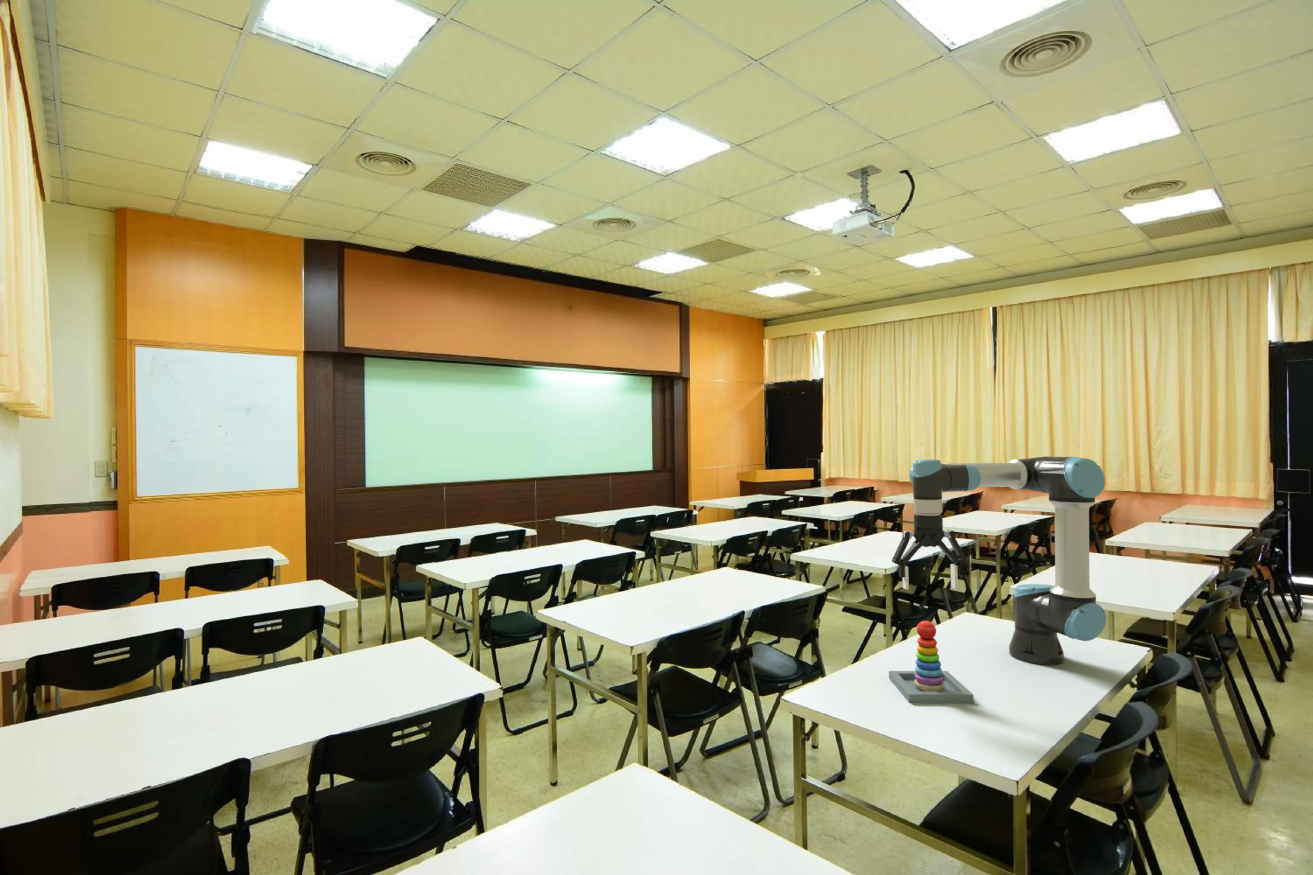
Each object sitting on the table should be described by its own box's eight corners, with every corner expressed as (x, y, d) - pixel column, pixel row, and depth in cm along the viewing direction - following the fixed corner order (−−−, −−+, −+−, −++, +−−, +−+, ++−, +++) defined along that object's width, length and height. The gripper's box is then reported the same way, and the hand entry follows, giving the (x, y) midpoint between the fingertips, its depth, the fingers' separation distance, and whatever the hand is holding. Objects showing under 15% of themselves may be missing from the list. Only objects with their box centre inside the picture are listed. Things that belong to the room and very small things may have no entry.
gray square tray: (947, 678, 183) (947, 670, 183) (973, 702, 166) (973, 694, 166) (888, 678, 184) (888, 670, 184) (909, 702, 167) (908, 694, 167)
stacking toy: (938, 682, 179) (937, 617, 179) (949, 693, 171) (947, 625, 171) (910, 681, 180) (909, 617, 180) (919, 693, 172) (917, 625, 172)
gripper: (966, 511, 179) (968, 584, 179) (879, 513, 181) (881, 585, 181) (979, 514, 172) (981, 590, 172) (887, 516, 173) (889, 592, 173)
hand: (930, 588), depth 176 cm, fingers open, 13 cm apart
